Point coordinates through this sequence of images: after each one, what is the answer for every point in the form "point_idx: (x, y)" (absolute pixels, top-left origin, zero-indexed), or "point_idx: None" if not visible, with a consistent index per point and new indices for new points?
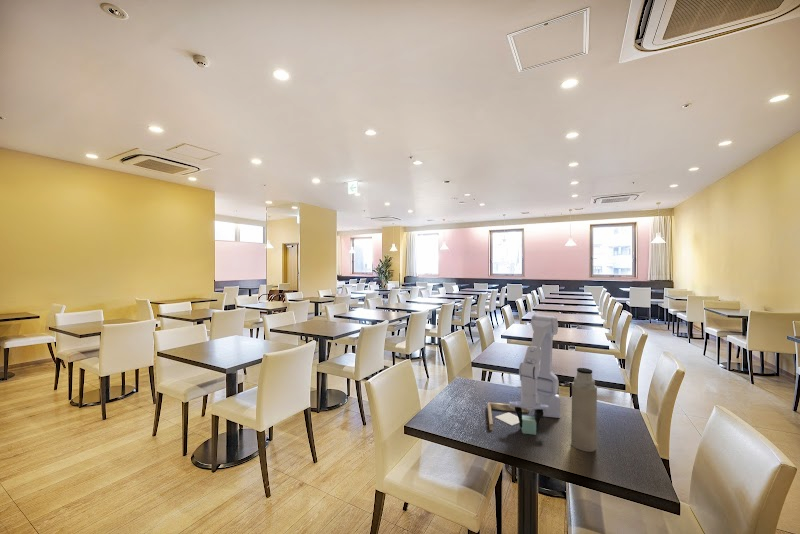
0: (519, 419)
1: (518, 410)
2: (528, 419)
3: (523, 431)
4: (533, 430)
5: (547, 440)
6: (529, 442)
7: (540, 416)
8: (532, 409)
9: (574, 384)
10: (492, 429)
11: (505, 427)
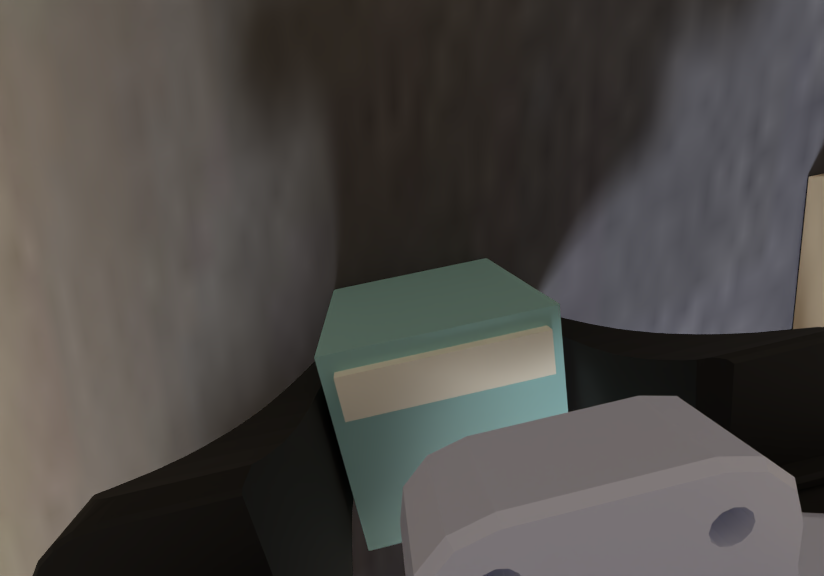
0: (610, 330)
1: (801, 437)
2: (459, 382)
3: (483, 263)
4: (364, 295)
5: (186, 196)
6: (401, 30)
7: (185, 466)
8: (430, 477)
9: None
10: (821, 176)
11: (663, 311)
